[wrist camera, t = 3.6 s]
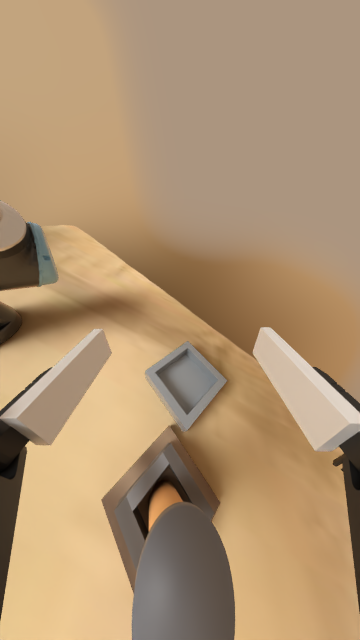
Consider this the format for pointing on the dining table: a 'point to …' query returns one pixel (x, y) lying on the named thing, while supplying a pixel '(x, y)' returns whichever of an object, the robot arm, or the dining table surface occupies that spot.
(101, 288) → the dining table surface
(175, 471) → the grey square socket
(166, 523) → the lock pin
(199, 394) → the tray
